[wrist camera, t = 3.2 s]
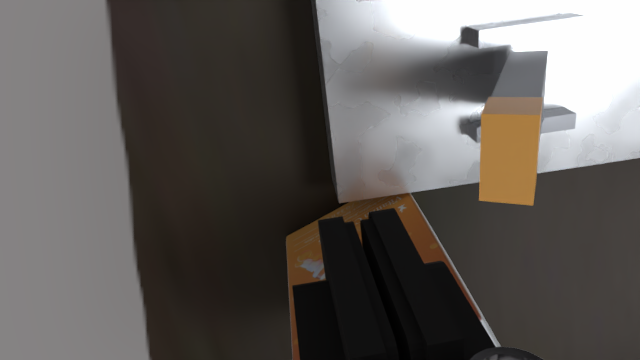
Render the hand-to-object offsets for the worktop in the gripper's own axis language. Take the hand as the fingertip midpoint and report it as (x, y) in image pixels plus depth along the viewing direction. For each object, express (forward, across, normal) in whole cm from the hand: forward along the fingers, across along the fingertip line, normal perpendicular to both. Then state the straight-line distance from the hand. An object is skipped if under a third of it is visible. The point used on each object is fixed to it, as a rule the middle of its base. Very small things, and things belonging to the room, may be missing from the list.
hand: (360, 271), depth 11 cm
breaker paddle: (+13, -11, 0) cm, 17 cm away
